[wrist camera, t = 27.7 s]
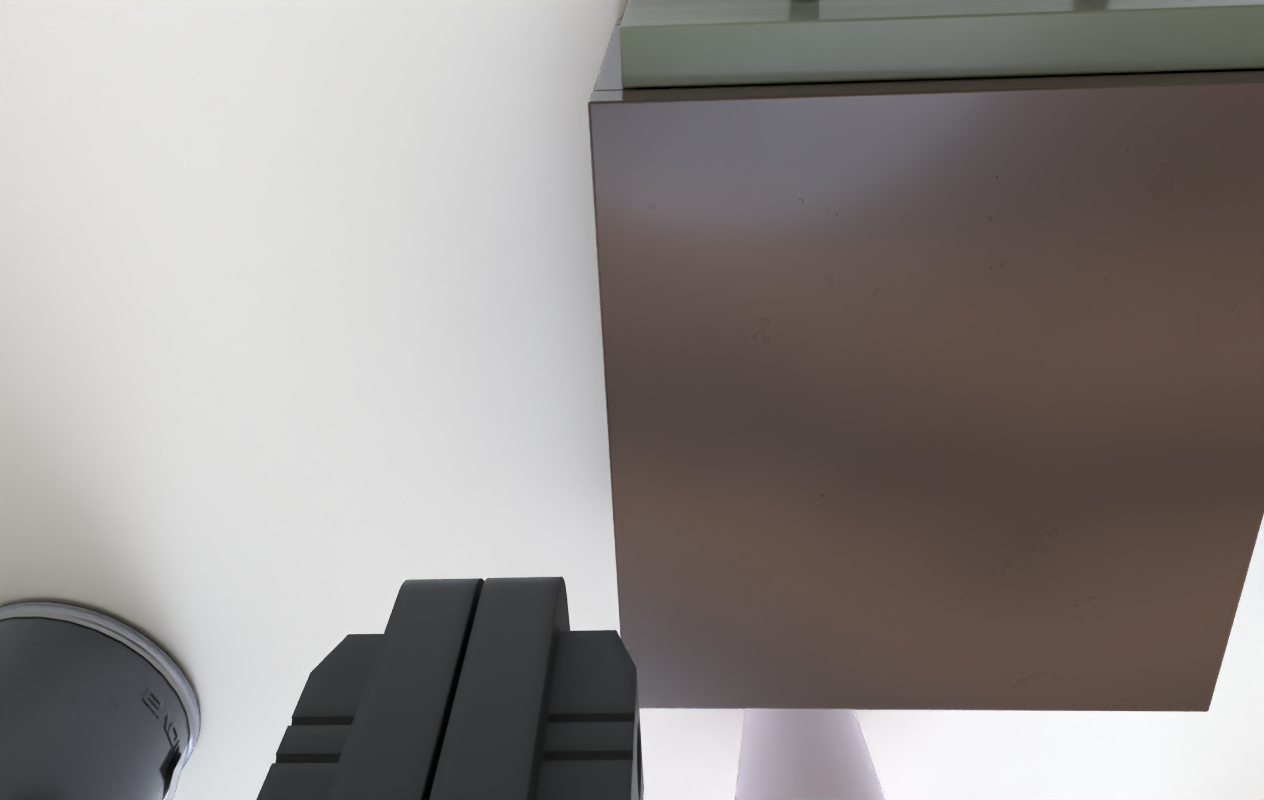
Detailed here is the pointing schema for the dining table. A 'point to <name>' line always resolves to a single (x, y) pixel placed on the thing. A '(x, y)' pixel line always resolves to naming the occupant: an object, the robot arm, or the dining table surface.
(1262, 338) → the cabinet
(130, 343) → the dining table surface
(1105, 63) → the drawer
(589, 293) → the dining table surface
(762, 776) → the smoothie
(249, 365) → the dining table surface
